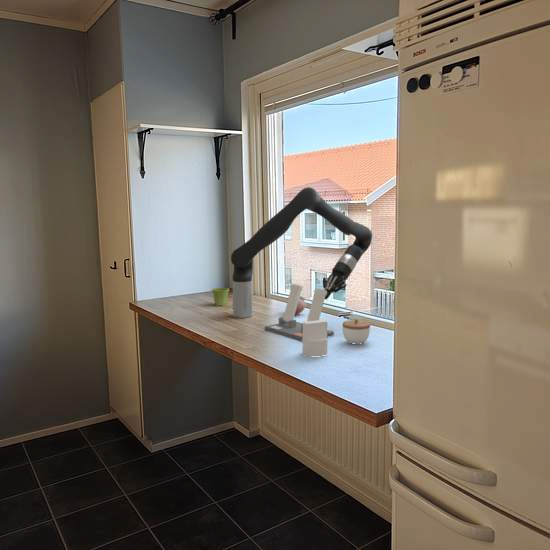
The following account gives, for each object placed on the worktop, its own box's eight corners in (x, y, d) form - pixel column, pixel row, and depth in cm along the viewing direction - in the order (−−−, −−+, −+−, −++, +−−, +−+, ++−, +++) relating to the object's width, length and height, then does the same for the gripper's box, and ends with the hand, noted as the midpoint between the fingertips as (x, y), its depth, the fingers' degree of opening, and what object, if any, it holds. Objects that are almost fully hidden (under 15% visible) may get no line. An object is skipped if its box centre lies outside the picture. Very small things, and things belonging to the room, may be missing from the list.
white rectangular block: (309, 358, 187) (309, 325, 185) (298, 352, 195) (298, 320, 193) (331, 355, 190) (332, 323, 189) (319, 349, 199) (320, 318, 197)
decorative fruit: (306, 312, 261) (306, 292, 260) (305, 316, 253) (305, 295, 252) (287, 312, 262) (287, 292, 261) (285, 316, 254) (285, 295, 253)
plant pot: (220, 302, 287) (219, 287, 286) (233, 304, 282) (233, 288, 281) (208, 305, 280) (207, 289, 278) (221, 307, 274) (221, 291, 273)
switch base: (305, 342, 208) (305, 331, 208) (264, 329, 228) (264, 319, 228) (333, 335, 218) (334, 324, 217) (292, 324, 238) (292, 314, 238)
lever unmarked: (288, 324, 226) (299, 285, 227) (281, 322, 230) (291, 283, 231) (292, 325, 227) (302, 286, 229) (284, 323, 231) (295, 285, 233)
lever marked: (312, 331, 214) (323, 290, 216) (304, 328, 218) (315, 288, 220) (316, 332, 216) (327, 291, 217) (307, 329, 220) (318, 289, 221)
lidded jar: (339, 344, 204) (339, 321, 203) (345, 337, 214) (346, 315, 213) (366, 347, 201) (367, 323, 199) (372, 340, 210) (372, 317, 209)
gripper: (329, 259, 229) (308, 290, 223) (352, 262, 219) (330, 294, 213) (337, 270, 233) (317, 301, 227) (360, 273, 223) (339, 306, 217)
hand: (323, 298), depth 220 cm, fingers closed
